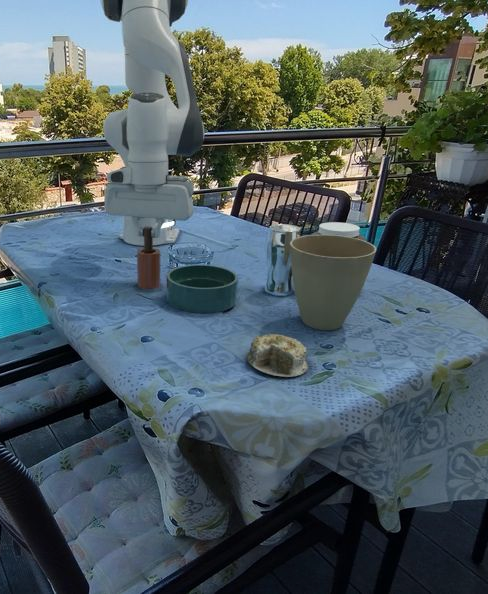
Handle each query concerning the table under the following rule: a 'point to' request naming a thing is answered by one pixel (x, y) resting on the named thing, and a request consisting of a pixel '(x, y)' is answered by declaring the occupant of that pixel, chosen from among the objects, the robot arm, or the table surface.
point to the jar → (339, 230)
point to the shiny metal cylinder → (280, 259)
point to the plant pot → (328, 277)
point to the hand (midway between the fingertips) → (148, 236)
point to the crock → (148, 269)
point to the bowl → (202, 288)
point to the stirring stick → (148, 240)
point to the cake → (278, 355)
